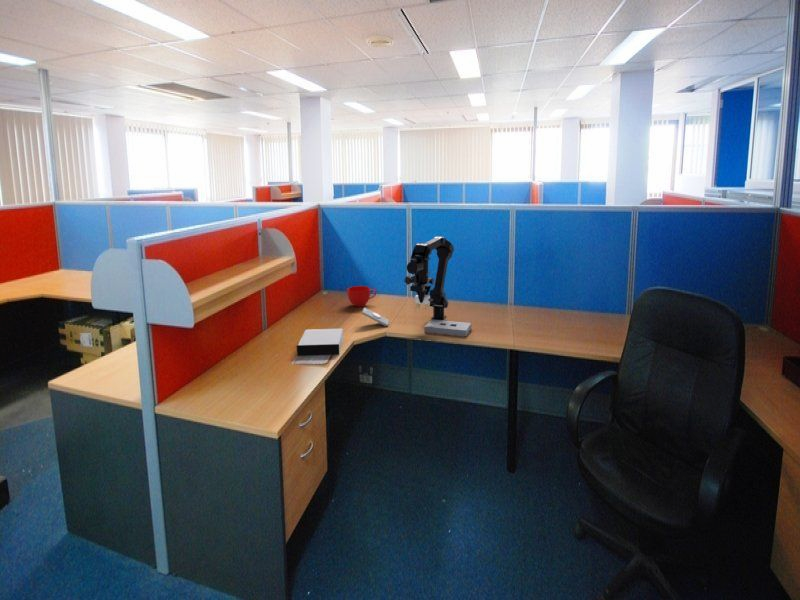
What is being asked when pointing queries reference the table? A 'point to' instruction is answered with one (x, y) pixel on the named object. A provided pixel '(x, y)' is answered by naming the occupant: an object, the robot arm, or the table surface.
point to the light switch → (375, 316)
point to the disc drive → (320, 342)
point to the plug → (425, 301)
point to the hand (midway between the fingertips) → (422, 301)
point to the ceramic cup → (359, 295)
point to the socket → (448, 327)
